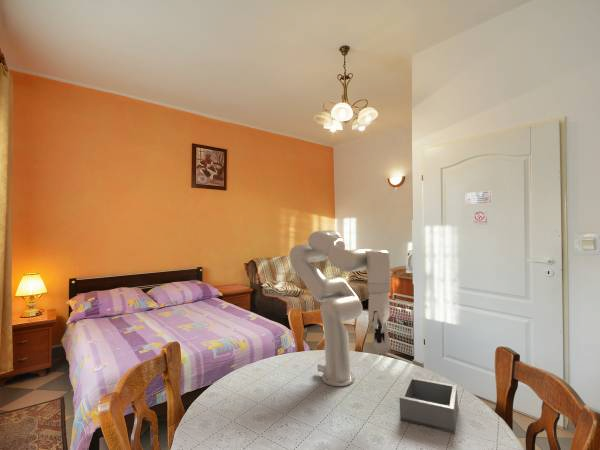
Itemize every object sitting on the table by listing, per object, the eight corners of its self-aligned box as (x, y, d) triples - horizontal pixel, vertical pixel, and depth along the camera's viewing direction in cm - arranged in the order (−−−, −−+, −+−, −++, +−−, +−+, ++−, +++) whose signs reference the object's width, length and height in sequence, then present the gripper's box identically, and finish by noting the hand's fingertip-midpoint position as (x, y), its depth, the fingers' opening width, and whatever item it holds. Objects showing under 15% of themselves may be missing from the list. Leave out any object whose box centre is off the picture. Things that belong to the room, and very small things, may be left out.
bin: (400, 420, 99) (399, 397, 99) (409, 397, 112) (408, 376, 112) (454, 433, 91) (453, 409, 92) (457, 407, 105) (456, 385, 105)
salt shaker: (391, 355, 104) (389, 315, 104) (373, 354, 106) (371, 315, 106) (390, 348, 110) (388, 310, 110) (372, 348, 111) (371, 310, 111)
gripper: (374, 282, 117) (377, 333, 117) (360, 291, 103) (362, 349, 103) (396, 283, 113) (398, 336, 113) (384, 293, 99) (386, 353, 99)
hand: (381, 342), depth 108 cm, fingers closed on salt shaker, 3 cm apart
